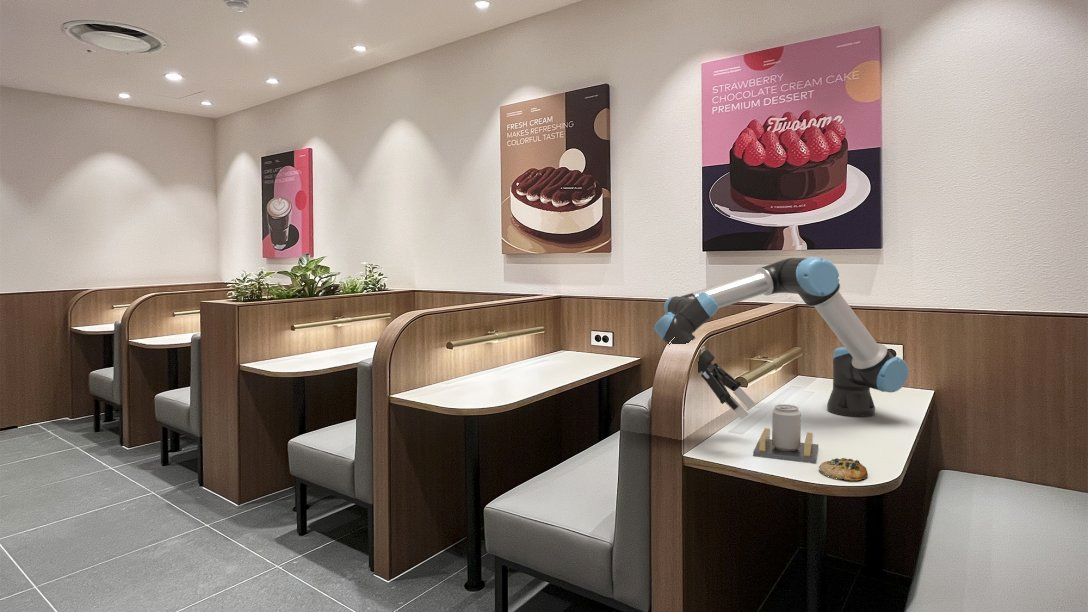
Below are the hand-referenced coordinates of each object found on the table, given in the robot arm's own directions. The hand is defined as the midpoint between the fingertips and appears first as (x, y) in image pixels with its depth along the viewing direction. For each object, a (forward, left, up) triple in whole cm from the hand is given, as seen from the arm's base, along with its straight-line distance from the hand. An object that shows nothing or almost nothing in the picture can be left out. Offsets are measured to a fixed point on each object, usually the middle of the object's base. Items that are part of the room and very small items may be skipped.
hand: (749, 411), depth 178 cm
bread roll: (-17, +22, -11) cm, 30 cm away
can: (-9, +4, -10) cm, 14 cm away
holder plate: (-9, +4, -11) cm, 15 cm away
